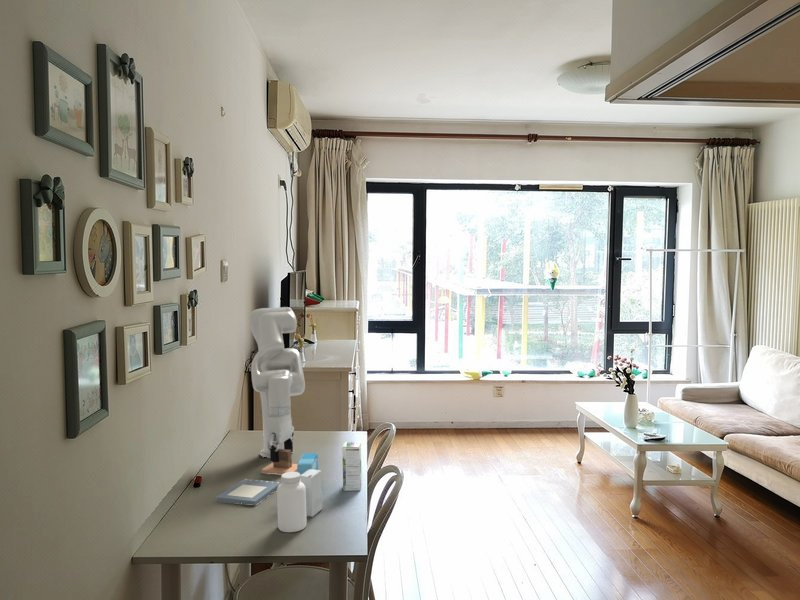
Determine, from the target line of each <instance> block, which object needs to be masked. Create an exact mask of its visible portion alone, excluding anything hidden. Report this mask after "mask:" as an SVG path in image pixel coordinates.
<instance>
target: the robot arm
mask: <svg viewBox="0 0 800 600" xmlns="http://www.w3.org/2000/svg"><path fill="white" fill-rule="evenodd" d="M248 321H249V327H250V331H251V334H252V336H253V337H254V339H255V341H256V344H257V348H258V351H257V352H256V354H255V355H254V357H253V359H252V361H251V367H250V369H251V370H250V372H251V383H252V388H253V391H255V392H258V393H259V396H260V402H261V417H262V436H263V437H262V438H263V448H262V449H261V450H260V451H259V456H260V455H261V456H262V458H264V457H267V458H266V459H270V462H271V463H273V462H279V451H278V449H285V450H291V453H292V454H293V453H294V448H293V447H294V446H293V444H294V443H293V442H294V430H295V426H294V425H293V419H292V409H291V407H292V404H291V402H292V401H291V397H294V396H301V395H303V393H304V392H305V389H306V382H305V375H304V370H303V362H302V358H301V353H300V352H299V350H297V349H296V348H293V347H291V348H290V347H287V348H285V344H284V343H285V342H284V336H283V334H289V333H295V332H296V330H297V326H298V320H297V317H296V314H295V312H294V311H293V309H292V308H291V307H288V306H282V307H281V306H279V307H261V308H257V309H254V310H252V311H251V312H250V314H249V317H248ZM259 368H260V369H261V371H260V369H259ZM261 456H260V457H261Z"/></svg>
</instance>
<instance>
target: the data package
mask: <svg viewBox="0 0 800 600" xmlns="http://www.w3.org/2000/svg"><path fill="white" fill-rule="evenodd" d="M297 464H298V465H297V472H298V473H300V475H302V474H303V473H305V472H306V471H308V470H309V469H314V470H319V457H318V453H317V452H315V453H314V452H313V453H312V452H309V453H308V452H307V453H303V454H301V457H300V459H299V461H298V462H297Z"/></svg>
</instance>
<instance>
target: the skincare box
mask: <svg viewBox="0 0 800 600" xmlns="http://www.w3.org/2000/svg"><path fill="white" fill-rule="evenodd" d="M300 476H301V479H300V480H301V481H300V482H302V483H303V484H304V485H305V488H306V517H308V516H310V517H309V518H311V517H312V518H314V516H316V515H317V514H318V513H319V512H320V511H322V509H323V485H322V483H323V481H322V480H323V479H322V477H323V475H322V470H321V469H318V470H314V469H309V470H308V471H306V472H305V473H303V474H302V475H300Z"/></svg>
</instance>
